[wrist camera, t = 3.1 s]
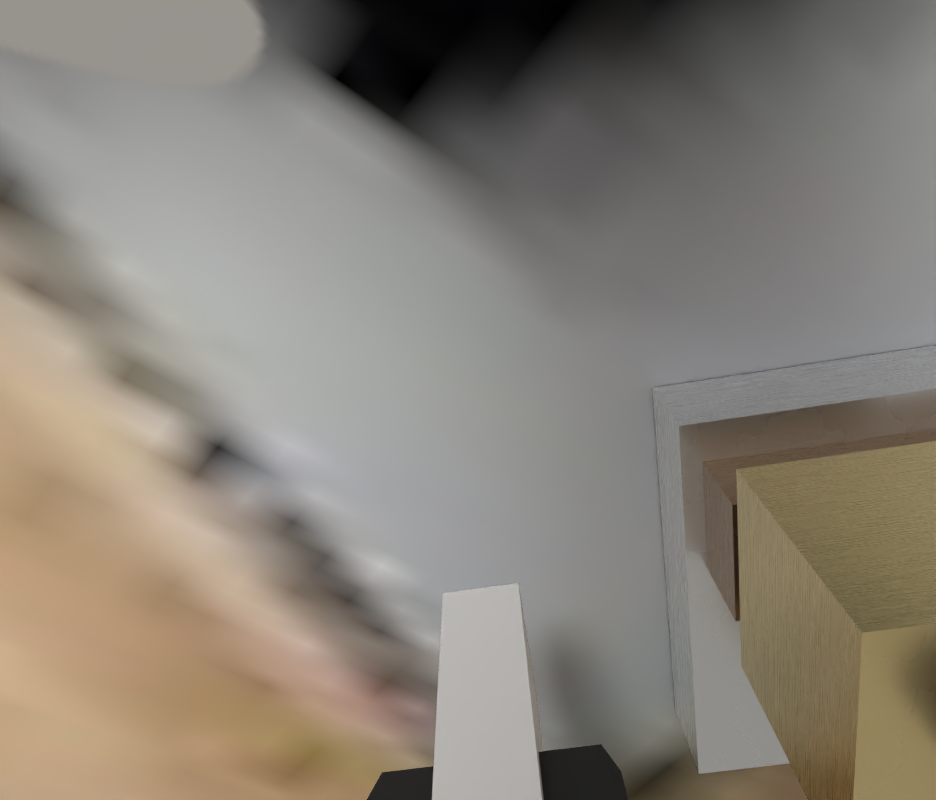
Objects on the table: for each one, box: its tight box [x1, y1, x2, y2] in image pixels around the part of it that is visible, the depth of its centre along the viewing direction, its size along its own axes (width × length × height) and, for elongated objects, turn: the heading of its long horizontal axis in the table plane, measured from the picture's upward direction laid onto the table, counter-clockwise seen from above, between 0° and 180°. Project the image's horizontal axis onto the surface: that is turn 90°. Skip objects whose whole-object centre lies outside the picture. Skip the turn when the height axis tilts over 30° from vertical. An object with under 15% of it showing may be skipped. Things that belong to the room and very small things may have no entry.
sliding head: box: [736, 441, 936, 800], centre depth 13 cm, size 10×5×8 cm, turn 9°
